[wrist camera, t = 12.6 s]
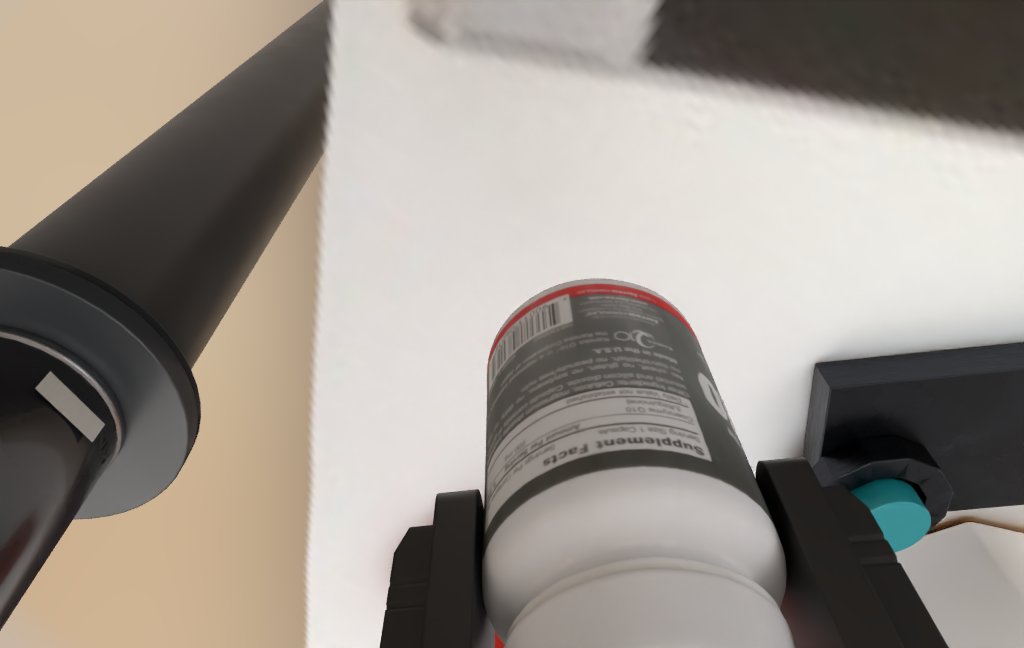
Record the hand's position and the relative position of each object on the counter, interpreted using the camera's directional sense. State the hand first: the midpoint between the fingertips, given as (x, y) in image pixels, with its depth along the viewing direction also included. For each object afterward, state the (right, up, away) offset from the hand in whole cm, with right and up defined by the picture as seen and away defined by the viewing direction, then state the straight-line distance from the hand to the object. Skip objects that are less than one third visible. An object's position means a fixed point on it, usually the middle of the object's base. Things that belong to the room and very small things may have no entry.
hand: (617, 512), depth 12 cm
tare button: (+16, -5, +22) cm, 27 cm away
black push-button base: (+19, -2, +23) cm, 30 cm away
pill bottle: (0, +3, +4) cm, 5 cm away
